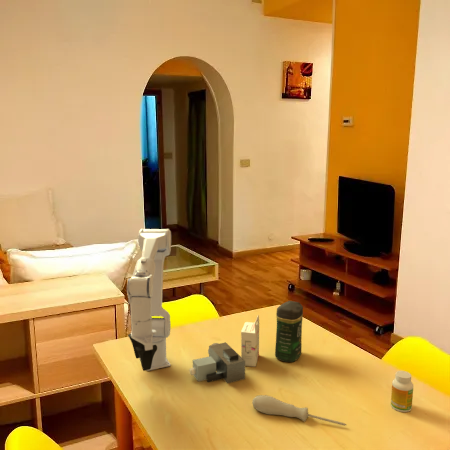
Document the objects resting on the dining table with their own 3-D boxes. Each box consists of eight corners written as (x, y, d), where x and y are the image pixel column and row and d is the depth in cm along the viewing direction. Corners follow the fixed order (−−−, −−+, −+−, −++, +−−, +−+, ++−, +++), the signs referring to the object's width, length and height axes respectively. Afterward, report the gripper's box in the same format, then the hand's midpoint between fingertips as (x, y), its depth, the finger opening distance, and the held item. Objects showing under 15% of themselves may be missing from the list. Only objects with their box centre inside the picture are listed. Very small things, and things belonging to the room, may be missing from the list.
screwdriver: (345, 438, 116) (346, 426, 115) (250, 413, 125) (250, 401, 123) (347, 423, 120) (348, 411, 119) (255, 400, 129) (255, 388, 127)
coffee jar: (294, 365, 150) (296, 310, 146) (271, 359, 153) (273, 306, 150) (304, 353, 158) (306, 301, 154) (282, 348, 162) (284, 297, 158)
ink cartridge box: (244, 353, 158) (245, 312, 155) (259, 355, 157) (259, 313, 154) (240, 365, 149) (240, 322, 146) (255, 367, 148) (256, 324, 146)
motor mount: (192, 363, 151) (192, 343, 150) (223, 356, 155) (223, 337, 154) (211, 387, 137) (211, 365, 135) (245, 379, 141) (245, 357, 140)
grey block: (188, 375, 143) (188, 360, 142) (210, 370, 146) (210, 356, 145) (193, 382, 139) (193, 367, 138) (216, 377, 142) (216, 362, 141)
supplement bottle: (409, 415, 123) (412, 381, 121) (388, 408, 126) (390, 375, 124) (413, 405, 127) (416, 372, 126) (393, 399, 130) (395, 367, 128)
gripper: (163, 325, 124) (164, 371, 127) (148, 307, 137) (149, 350, 140) (137, 329, 121) (138, 377, 124) (124, 311, 134) (126, 354, 137)
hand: (143, 363), depth 132 cm, fingers open, 7 cm apart
